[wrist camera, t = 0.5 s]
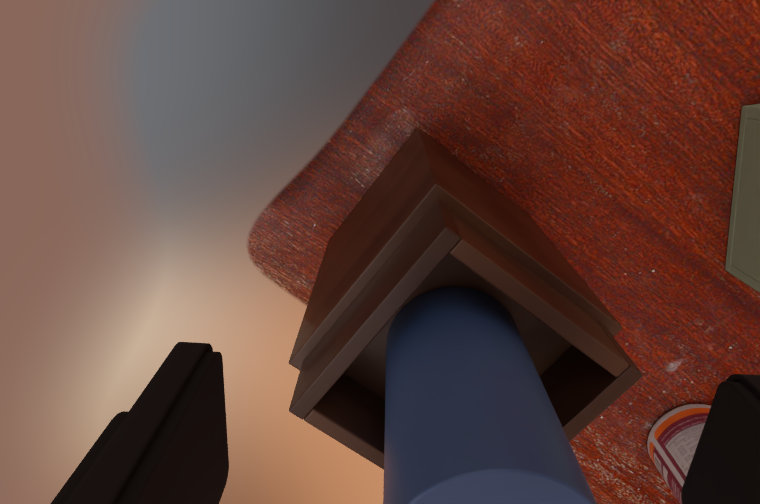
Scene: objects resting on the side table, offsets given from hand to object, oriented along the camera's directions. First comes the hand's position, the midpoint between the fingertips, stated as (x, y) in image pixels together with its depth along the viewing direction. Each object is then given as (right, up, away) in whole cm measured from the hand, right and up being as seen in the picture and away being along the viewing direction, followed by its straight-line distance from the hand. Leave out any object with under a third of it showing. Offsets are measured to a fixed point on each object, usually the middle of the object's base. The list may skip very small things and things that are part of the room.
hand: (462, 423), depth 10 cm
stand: (+1, +5, +23) cm, 24 cm away
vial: (+1, 0, +10) cm, 10 cm away
